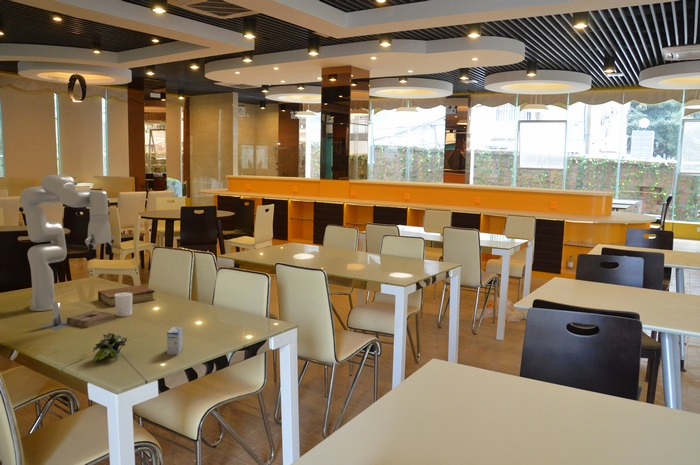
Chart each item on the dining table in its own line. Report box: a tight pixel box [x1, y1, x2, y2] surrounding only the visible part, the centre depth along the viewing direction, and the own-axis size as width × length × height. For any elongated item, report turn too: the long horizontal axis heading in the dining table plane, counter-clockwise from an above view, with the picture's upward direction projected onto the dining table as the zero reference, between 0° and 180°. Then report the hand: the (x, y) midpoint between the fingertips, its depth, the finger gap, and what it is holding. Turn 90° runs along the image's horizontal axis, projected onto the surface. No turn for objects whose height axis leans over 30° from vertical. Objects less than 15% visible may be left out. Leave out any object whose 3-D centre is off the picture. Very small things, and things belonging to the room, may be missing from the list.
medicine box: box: [166, 326, 184, 356], centre depth 215 cm, size 8×4×9 cm, turn 5°
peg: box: [52, 301, 62, 326], centre depth 247 cm, size 3×3×10 cm
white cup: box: [114, 292, 133, 318], centre depth 266 cm, size 8×8×10 cm
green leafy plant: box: [92, 332, 128, 363], centre depth 207 cm, size 11×11×12 cm
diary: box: [97, 284, 156, 308], centre depth 295 cm, size 23×19×6 cm
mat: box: [38, 320, 75, 331], centre depth 248 cm, size 12×10×1 cm
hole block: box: [66, 309, 116, 328], centre depth 254 cm, size 14×14×3 cm
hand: (101, 256), depth 253 cm, fingers open, 9 cm apart
